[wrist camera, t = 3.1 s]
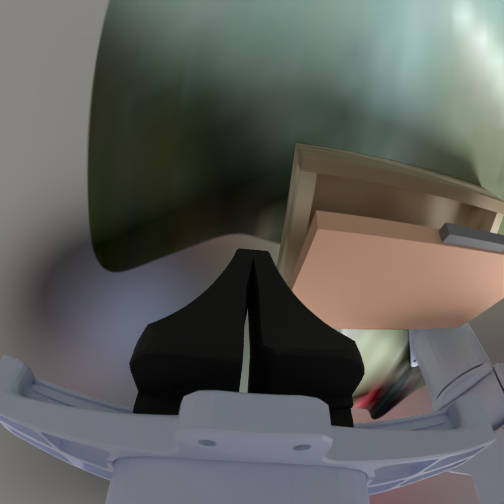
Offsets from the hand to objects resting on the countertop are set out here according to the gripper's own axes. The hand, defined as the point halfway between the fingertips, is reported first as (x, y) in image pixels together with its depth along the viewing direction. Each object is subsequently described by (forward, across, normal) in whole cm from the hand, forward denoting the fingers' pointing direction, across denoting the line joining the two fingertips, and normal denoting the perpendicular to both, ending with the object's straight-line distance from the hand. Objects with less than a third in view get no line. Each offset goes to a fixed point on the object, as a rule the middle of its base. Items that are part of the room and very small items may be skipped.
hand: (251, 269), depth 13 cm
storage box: (+10, -12, +2) cm, 16 cm away
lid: (+4, -12, +3) cm, 12 cm away
